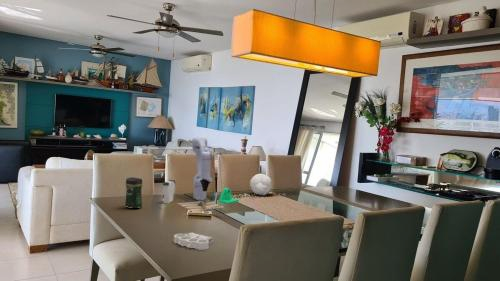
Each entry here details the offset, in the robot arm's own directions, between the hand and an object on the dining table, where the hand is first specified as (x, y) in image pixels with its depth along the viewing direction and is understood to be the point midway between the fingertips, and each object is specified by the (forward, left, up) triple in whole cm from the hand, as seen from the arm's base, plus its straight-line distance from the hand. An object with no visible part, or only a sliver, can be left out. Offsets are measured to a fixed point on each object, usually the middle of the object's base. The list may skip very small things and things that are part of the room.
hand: (204, 191), depth 248 cm
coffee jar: (-12, -42, -10) cm, 45 cm away
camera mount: (+2, +18, -10) cm, 20 cm away
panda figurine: (-13, -19, -10) cm, 25 cm away
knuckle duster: (+64, -40, -10) cm, 76 cm away
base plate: (+4, -5, -9) cm, 11 cm away
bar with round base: (+8, -5, -8) cm, 12 cm away
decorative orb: (-14, +56, -10) cm, 59 cm away
